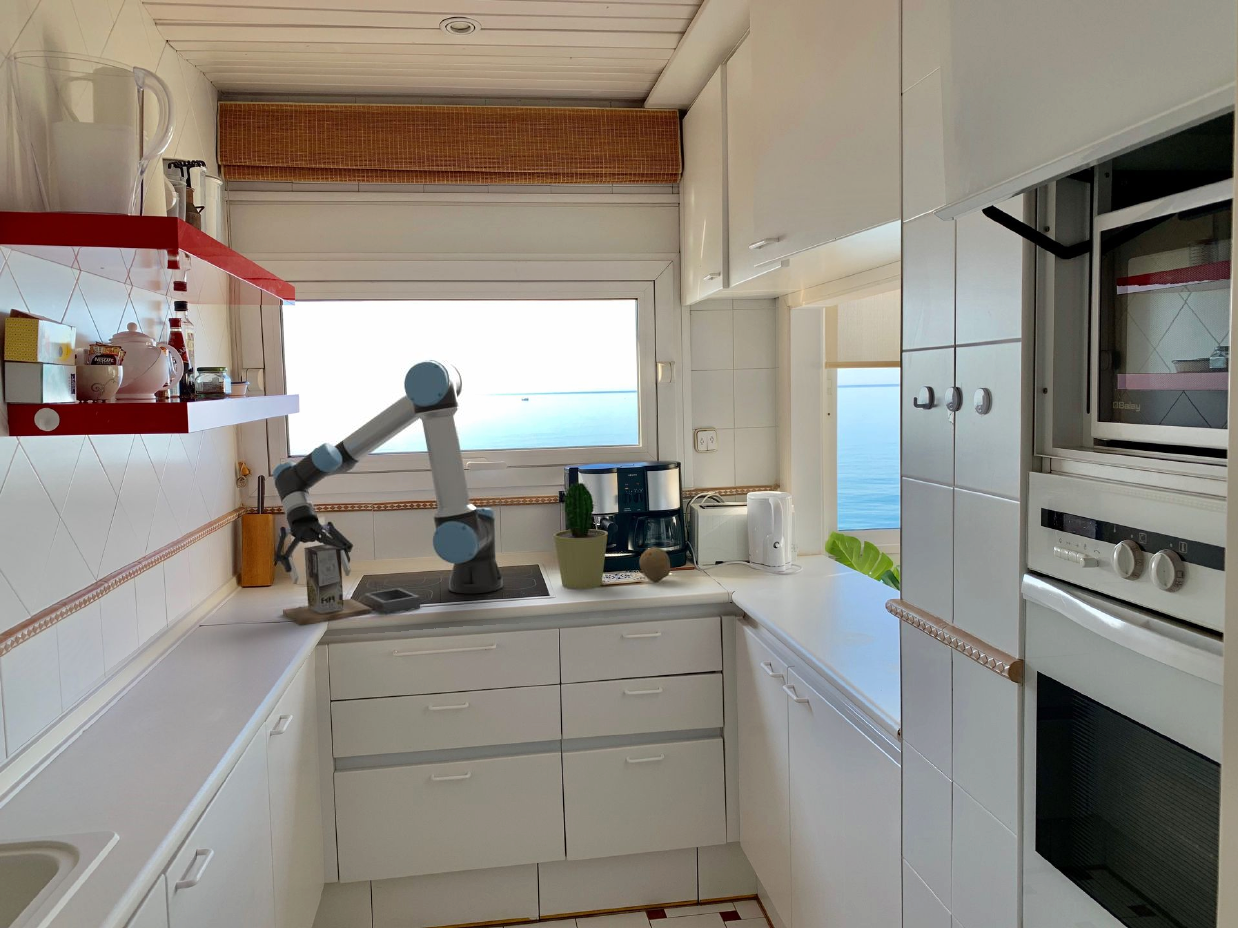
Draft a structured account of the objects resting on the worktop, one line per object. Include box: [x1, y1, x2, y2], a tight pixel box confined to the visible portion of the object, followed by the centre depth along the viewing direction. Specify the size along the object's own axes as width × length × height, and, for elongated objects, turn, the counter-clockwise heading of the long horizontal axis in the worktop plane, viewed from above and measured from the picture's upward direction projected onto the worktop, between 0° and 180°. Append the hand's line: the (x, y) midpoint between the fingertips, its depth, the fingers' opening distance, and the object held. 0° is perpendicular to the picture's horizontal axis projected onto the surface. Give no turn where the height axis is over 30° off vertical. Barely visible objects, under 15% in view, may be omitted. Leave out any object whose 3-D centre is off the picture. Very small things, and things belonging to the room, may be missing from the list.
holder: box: [363, 587, 421, 615], centre depth 244 cm, size 10×13×3 cm
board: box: [282, 598, 372, 626], centre depth 237 cm, size 18×14×1 cm
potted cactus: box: [553, 482, 609, 590], centre depth 263 cm, size 15×15×30 cm
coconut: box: [638, 546, 671, 583], centre depth 266 cm, size 9×9×10 cm
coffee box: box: [303, 544, 344, 614], centre depth 237 cm, size 9×6×16 cm
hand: (322, 577), depth 237 cm, fingers open, 13 cm apart
